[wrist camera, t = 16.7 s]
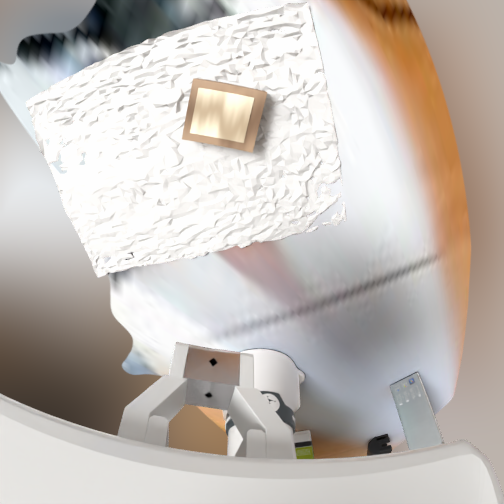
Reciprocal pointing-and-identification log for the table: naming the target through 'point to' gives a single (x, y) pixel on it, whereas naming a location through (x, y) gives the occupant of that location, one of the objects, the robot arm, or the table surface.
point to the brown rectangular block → (223, 114)
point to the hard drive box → (416, 413)
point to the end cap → (379, 446)
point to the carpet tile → (192, 142)
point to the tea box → (303, 445)
